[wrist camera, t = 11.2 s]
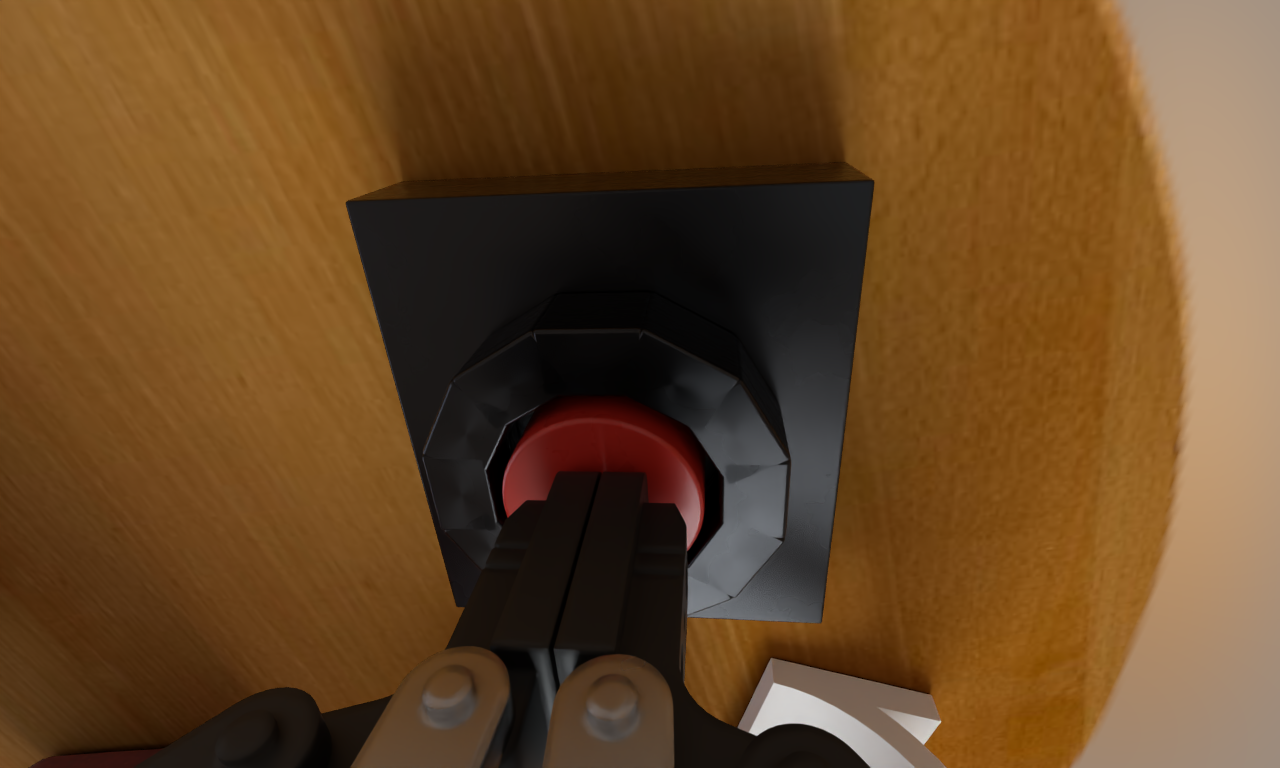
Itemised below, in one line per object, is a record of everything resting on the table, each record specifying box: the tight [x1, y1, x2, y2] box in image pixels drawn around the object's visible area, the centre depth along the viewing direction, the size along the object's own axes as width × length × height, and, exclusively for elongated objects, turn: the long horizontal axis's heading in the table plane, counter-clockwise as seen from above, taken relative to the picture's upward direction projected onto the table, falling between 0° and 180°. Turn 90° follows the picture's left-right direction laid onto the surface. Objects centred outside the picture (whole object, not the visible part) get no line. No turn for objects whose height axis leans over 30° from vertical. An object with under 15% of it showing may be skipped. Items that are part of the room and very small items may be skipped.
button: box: [502, 396, 705, 551], centre depth 11 cm, size 4×4×2 cm
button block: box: [346, 162, 874, 623], centre depth 12 cm, size 10×9×4 cm
